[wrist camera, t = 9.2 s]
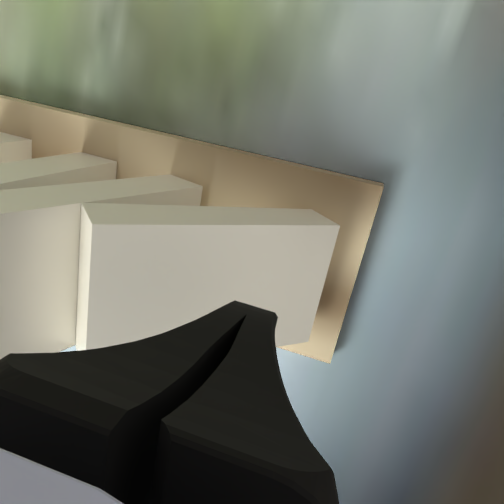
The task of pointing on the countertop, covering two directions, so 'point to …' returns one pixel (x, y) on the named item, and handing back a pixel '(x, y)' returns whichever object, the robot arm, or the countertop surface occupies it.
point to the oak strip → (221, 188)
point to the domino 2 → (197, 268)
